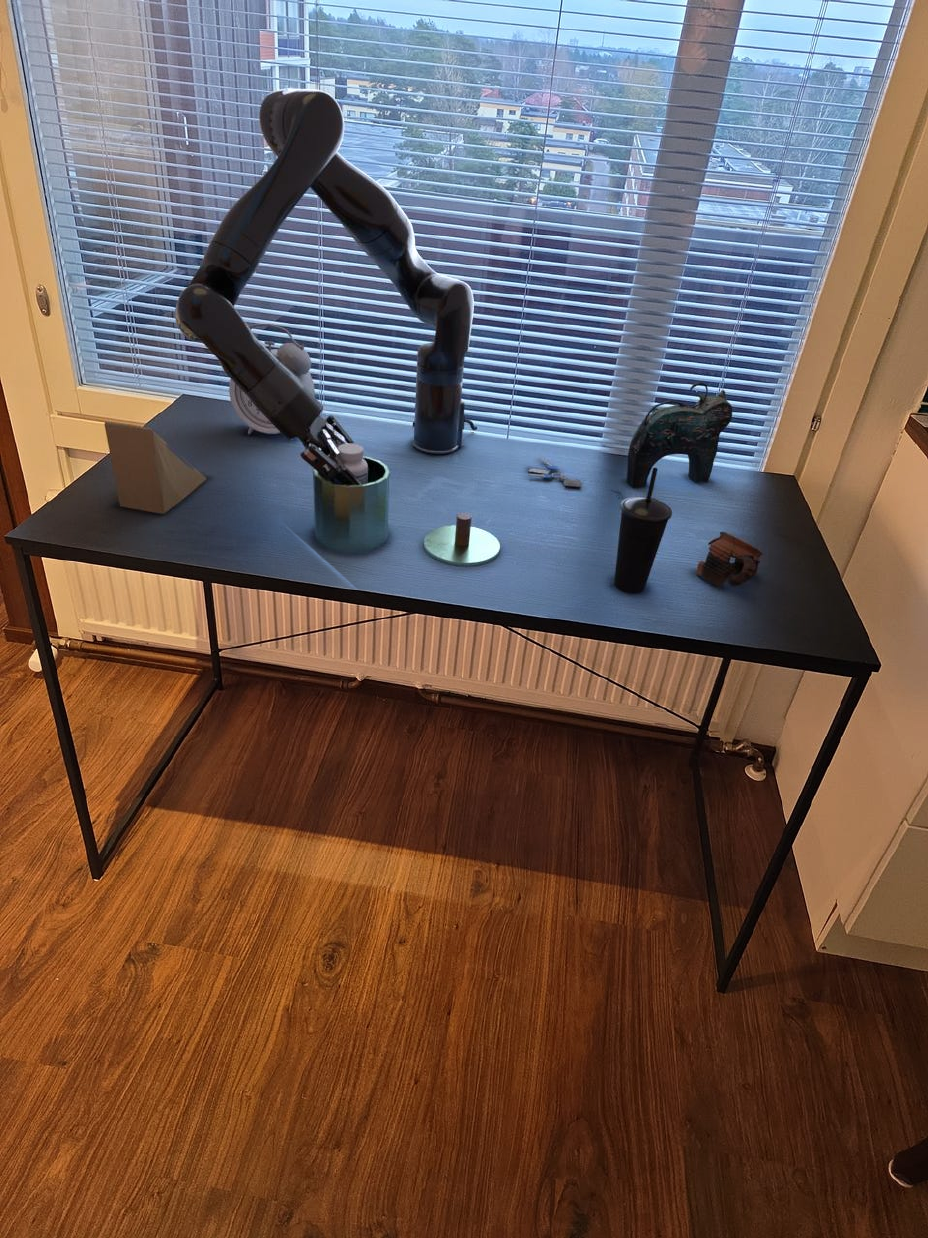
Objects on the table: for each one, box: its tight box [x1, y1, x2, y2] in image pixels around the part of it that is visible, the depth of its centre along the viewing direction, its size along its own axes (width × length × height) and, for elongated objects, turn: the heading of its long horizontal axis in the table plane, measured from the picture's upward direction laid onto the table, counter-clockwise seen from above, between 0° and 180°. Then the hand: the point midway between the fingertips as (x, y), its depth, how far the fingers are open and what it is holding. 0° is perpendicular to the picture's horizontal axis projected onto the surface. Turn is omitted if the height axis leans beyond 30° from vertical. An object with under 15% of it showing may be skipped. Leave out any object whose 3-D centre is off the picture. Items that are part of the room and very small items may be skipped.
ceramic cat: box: [626, 381, 734, 488], centre depth 159 cm, size 20×6×20 cm, turn 108°
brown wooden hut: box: [695, 531, 764, 589], centre depth 133 cm, size 12×10×8 cm
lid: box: [423, 512, 501, 567], centre depth 134 cm, size 13×13×6 cm
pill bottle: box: [333, 443, 368, 485], centre depth 130 cm, size 6×5×10 cm
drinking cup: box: [613, 467, 673, 594], centre depth 125 cm, size 8×8×20 cm
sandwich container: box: [103, 421, 208, 515], centre depth 140 cm, size 9×15×15 cm, turn 167°
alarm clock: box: [228, 323, 316, 441], centre depth 164 cm, size 16×9×22 cm, turn 81°
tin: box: [312, 455, 391, 553], centre depth 133 cm, size 12×12×12 cm
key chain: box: [528, 457, 582, 488], centre depth 162 cm, size 14×8×1 cm, turn 34°
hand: (361, 481), depth 131 cm, fingers closed on pill bottle, 5 cm apart
